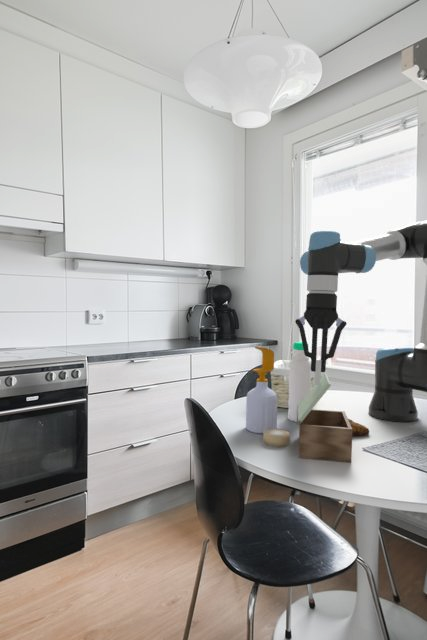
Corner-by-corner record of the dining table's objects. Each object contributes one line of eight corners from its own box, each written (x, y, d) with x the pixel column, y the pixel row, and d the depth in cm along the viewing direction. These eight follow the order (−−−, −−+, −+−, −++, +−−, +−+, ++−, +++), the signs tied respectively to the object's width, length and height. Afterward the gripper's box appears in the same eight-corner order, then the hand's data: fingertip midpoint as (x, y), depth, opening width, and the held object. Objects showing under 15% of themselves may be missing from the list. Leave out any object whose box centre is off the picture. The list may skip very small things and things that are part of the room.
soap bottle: (239, 428, 119) (241, 346, 118) (259, 422, 126) (260, 344, 124) (263, 436, 113) (265, 349, 112) (282, 429, 119) (284, 347, 118)
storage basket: (275, 394, 167) (276, 358, 166) (316, 397, 162) (317, 360, 162) (268, 408, 143) (269, 367, 143) (315, 412, 139) (316, 370, 139)
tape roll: (290, 439, 111) (290, 430, 111) (289, 447, 104) (289, 438, 104) (264, 436, 112) (264, 428, 112) (262, 445, 106) (262, 435, 106)
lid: (327, 374, 111) (324, 372, 111) (331, 385, 95) (328, 382, 95) (299, 409, 112) (296, 406, 113) (299, 425, 97) (295, 422, 97)
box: (343, 440, 111) (344, 411, 110) (351, 462, 95) (352, 429, 95) (299, 436, 113) (299, 408, 113) (299, 457, 97) (300, 425, 97)
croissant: (322, 436, 114) (322, 419, 114) (319, 429, 121) (320, 412, 121) (372, 439, 112) (372, 422, 112) (366, 432, 119) (367, 415, 119)
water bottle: (310, 423, 125) (312, 343, 124) (287, 421, 127) (289, 343, 126) (309, 417, 132) (311, 341, 131) (288, 415, 134) (289, 341, 133)
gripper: (346, 294, 105) (341, 383, 106) (296, 292, 108) (292, 379, 109) (349, 293, 98) (344, 389, 99) (296, 291, 100) (291, 385, 101)
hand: (317, 384), depth 104 cm, fingers closed
